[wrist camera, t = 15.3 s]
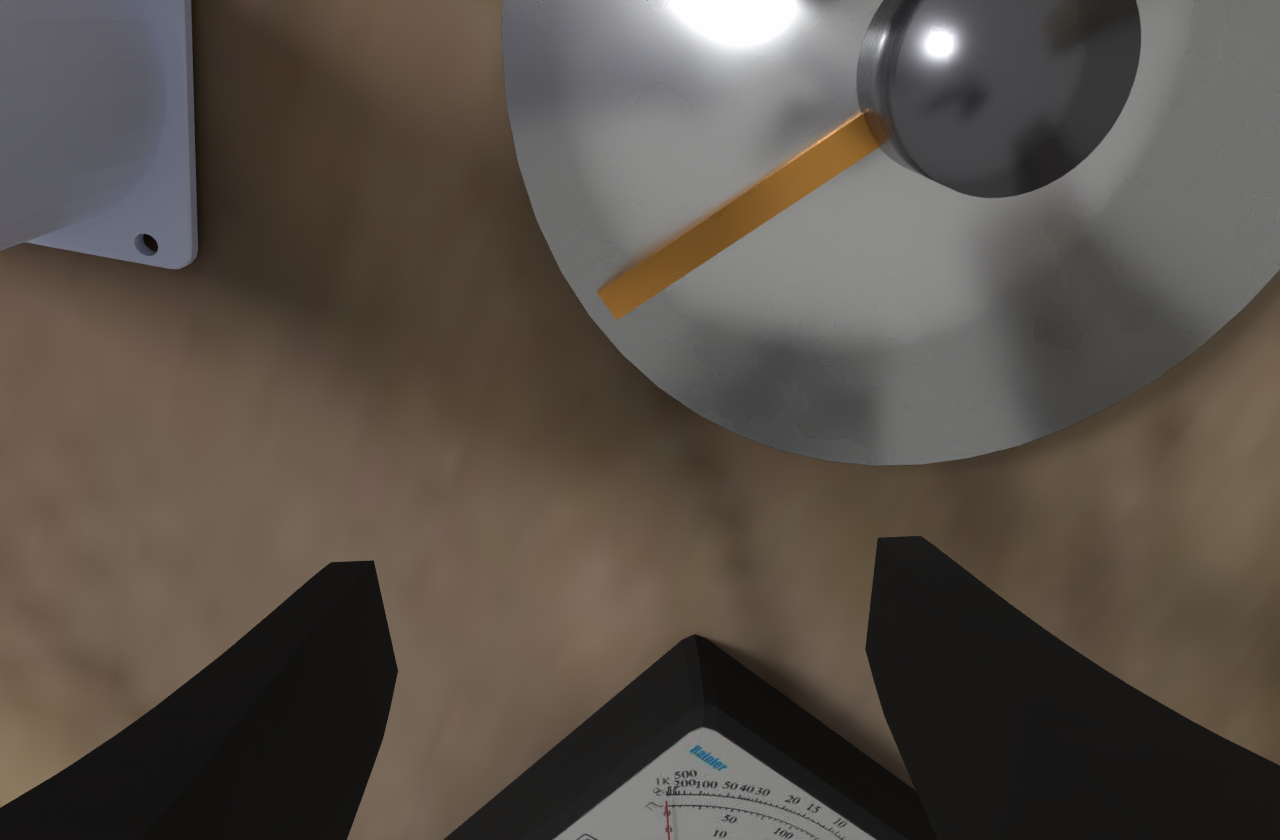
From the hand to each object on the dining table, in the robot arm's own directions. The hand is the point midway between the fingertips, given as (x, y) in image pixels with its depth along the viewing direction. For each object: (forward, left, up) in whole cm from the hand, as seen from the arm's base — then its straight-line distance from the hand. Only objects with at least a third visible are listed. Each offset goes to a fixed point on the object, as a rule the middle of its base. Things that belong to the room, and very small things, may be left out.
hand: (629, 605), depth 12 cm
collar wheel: (+6, +8, -10) cm, 14 cm away
